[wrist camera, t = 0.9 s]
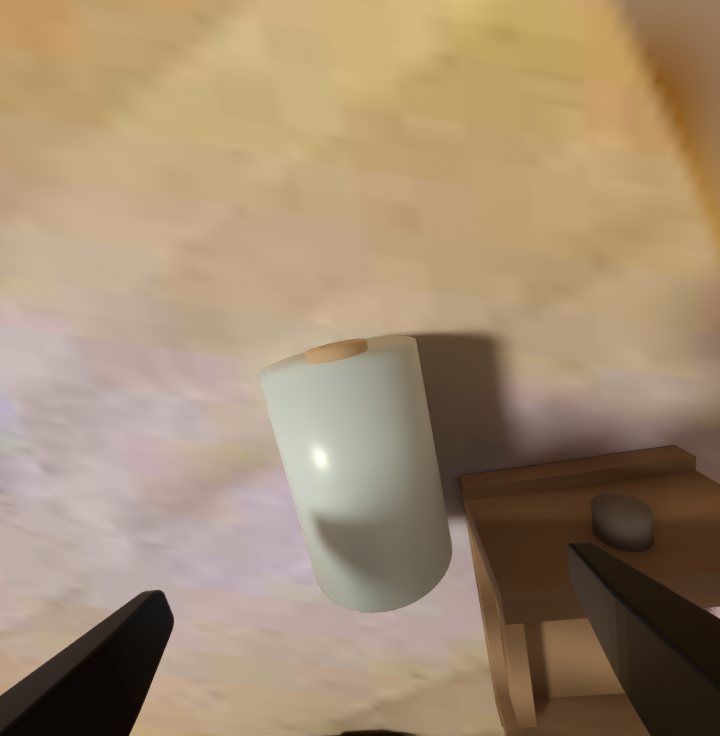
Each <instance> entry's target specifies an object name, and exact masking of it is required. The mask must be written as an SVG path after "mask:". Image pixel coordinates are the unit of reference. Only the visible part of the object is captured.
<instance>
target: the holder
mask: <svg viewBox="0 0 720 736" xmlns="http://www.w3.org/2000/svg"><path fill="white" fill-rule="evenodd" d="M695 469H696V457H695V456H693V455H691V454H690V453H688V452H686V451H684V450H682V449H680V448H679V447H677V446H675V445H673V446H666V447H659V448H652V449H645V450H638V451H631V452H624V453H617V454H610V455H603V456H596V457H589V458H582V459H575V460H567V461H560V462H553V463H546V464H539V465H532V466H525V467H518V468H511V469H504V470H497V471H490V472H483V473H476V474H469V475H462V476H460V483H461V489H462V495H463V501H464V508H465V514H466V520H467V526H468V532H469V539H470V545H471V551H472V557H473V563H474V570H475V576H476V582H477V588H478V594H479V601H480V607H481V613H482V619H483V626H484V632H485V638H486V644H487V650H488V657H489V663H490V669H491V675H492V681H493V688H494V694H495V700H496V705H497V709H498V713H499V717H500V720H501V724H502V727H503V728H504V732H505V736H650V734H649V733H648V731H647V729H646V727H645V726H644V724H643V722H642V721H641V719H640V717H639V716H638V714H637V712H636V711H635V709H634V707H633V706H632V704H631V702H630V701H629V699H628V697H627V695H626V694H625V692H624V690H623V688H622V686H621V685H620V683H619V681H618V679H617V677H616V675H615V673H614V671H613V669H612V667H611V665H610V663H609V661H608V659H607V657H606V655H605V653H604V651H603V649H602V647H601V645H600V643H599V641H598V639H597V637H596V635H595V632H594V630H593V628H592V626H591V624H590V622H589V620H588V618H587V616H586V614H585V612H584V610H583V608H582V606H581V604H580V602H579V600H578V598H577V596H576V594H575V592H574V589H573V587H572V584H571V581H570V576H569V566H568V554H567V546H568V544H569V543H571V542H580V541H590V542H593V543H595V544H596V545H598V546H600V547H601V548H603V549H605V550H606V551H608V552H610V553H611V554H613V555H615V556H616V557H618V558H620V559H621V560H623V561H625V562H626V563H628V564H630V565H631V566H633V567H635V568H636V569H638V570H640V571H641V572H643V573H645V574H646V575H648V576H650V577H651V578H653V579H655V580H656V581H658V582H660V583H661V584H663V585H665V586H666V587H668V588H670V589H671V590H673V591H674V592H676V593H678V594H679V595H681V596H683V597H684V598H686V599H688V600H689V601H691V602H693V603H694V604H696V605H698V606H699V607H701V608H703V609H704V610H705V608H707V607H718V606H720V485H719V484H718V483H716V482H714V481H713V480H711V479H709V478H708V477H706V476H704V475H702V474H701V473H699V472H697V471H696V470H695Z"/></svg>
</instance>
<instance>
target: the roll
mask: <svg viewBox="0 0 720 736" xmlns="http://www.w3.org/2000/svg"><path fill="white" fill-rule="evenodd" d="M258 378H259V381H260V385H261V388H262V392H263V395H264V399H265V402H266V406H267V409H268V413H269V416H270V420H271V423H272V427H273V430H274V434H275V437H276V441H277V444H278V448H279V451H280V455H281V458H282V462H283V465H284V469H285V472H286V476H287V480H288V483H289V487H290V490H291V494H292V497H293V501H294V504H295V508H296V511H297V515H298V518H299V522H300V525H301V529H302V532H303V536H304V539H305V543H306V546H307V550H308V553H309V557H310V560H311V564H312V567H313V571H314V574H315V578H316V580H317V583H318V585H319V587H320V589H321V590H322V592H323V593H324V594H325V595H326V596H327V597H328V598H329V599H330V600H332V601H333V602H334V603H336V604H338V605H340V606H342V607H344V608H347V609H350V610H354V611H359V612H369V613H375V612H386V611H391V610H395V609H398V608H402V607H405V606H407V605H409V604H411V603H414V602H416V601H417V600H419V599H420V598H422V597H424V596H425V595H426V594H428V593H429V592H430V591H431V590H432V589H433V588H434V587H435V586H436V585H437V584H438V583H439V582H440V581H441V579H442V578H443V576H444V575H445V573H446V571H447V569H448V567H449V564H450V561H451V556H452V542H451V536H450V531H449V525H448V519H447V513H446V508H445V502H444V496H443V491H442V485H441V479H440V473H439V468H438V462H437V456H436V451H435V445H434V439H433V433H432V428H431V422H430V416H429V411H428V405H427V399H426V393H425V388H424V382H423V376H422V371H421V365H420V359H419V353H418V348H417V342H416V339H415V338H413V337H409V336H386V337H376V338H369V339H352V340H345V341H340V342H335V343H331V344H327V345H323V346H320V347H316V348H314V349H311V350H309V351H307V352H305V353H302V354H299V355H295V356H292V357H289V358H287V359H284V360H281V361H279V362H276V363H274V364H272V365H270V366H268V367H266V368H264V369H263V370H262V371H260V372H259V374H258Z"/></svg>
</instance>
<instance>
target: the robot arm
mask: <svg viewBox="0 0 720 736" xmlns="http://www.w3.org/2000/svg"><path fill="white" fill-rule="evenodd" d="M567 554H568V566H569V576H570V581H571V584H572V587H573V589H574V592H575V594H576V596H577V598H578V600H579V602H580V604H581V606H582V608H583V610H584V612H585V614H586V616H587V618H588V620H589V622H590V624H591V626H592V628H593V630H594V632H595V635H596V637H597V639H598V641H599V643H600V645H601V647H602V649H603V651H604V653H605V655H606V657H607V659H608V661H609V663H610V665H611V667H612V669H613V671H614V673H615V675H616V677H617V679H618V681H619V683H620V685H621V686H622V688H623V690H624V692H625V694H626V695H627V697H628V699H629V701H630V702H631V704H632V706H633V707H634V709H635V711H636V712H637V714H638V716H639V717H640V719H641V721H642V722H643V724H644V726H645V727H646V729H647V731H648V733H649V734H650V736H720V619H719V618H718V617H716V616H714V615H713V614H711V613H709V612H708V611H706V610H704V609H703V608H701V607H699V606H698V605H696V604H694V603H693V602H691V601H689V600H688V599H686V598H684V597H683V596H681V595H679V594H678V593H676V592H674V591H673V590H671V589H670V588H668V587H666V586H665V585H663V584H661V583H660V582H658V581H656V580H655V579H653V578H651V577H650V576H648V575H646V574H645V573H643V572H641V571H640V570H638V569H636V568H635V567H633V566H631V565H630V564H628V563H626V562H625V561H623V560H621V559H620V558H618V557H616V556H615V555H613V554H611V553H610V552H608V551H606V550H605V549H603V548H601V547H600V546H598V545H596V544H595V543H593V542H590V541H580V542H571V543H569V544H568V546H567ZM173 625H174V617H173V614H172V611H171V609H170V606H169V604H168V601H167V599H166V597H165V594H164V593H163V592H162V591H161V590H152V591H145V592H142V593H140V594H139V595H138V596H136V597H135V598H133V599H132V600H131V601H129V602H128V603H127V604H125V605H124V606H123V607H121V608H120V609H118V610H117V611H116V612H114V613H113V614H112V615H110V616H109V617H107V618H106V619H105V620H103V621H102V622H101V623H99V624H98V625H97V626H95V627H94V628H92V629H91V630H90V631H88V632H87V633H86V634H84V635H83V636H81V637H80V638H79V639H77V640H76V641H75V642H73V643H72V644H71V645H69V646H68V647H66V648H65V649H64V650H62V651H61V652H60V653H58V654H57V655H55V656H54V657H53V658H51V659H50V660H49V661H47V662H46V663H45V664H43V665H42V666H40V667H39V668H38V669H36V670H35V671H34V672H32V673H31V674H29V675H28V676H27V677H25V678H24V679H23V680H21V681H20V682H19V683H17V684H16V685H14V686H13V687H12V688H10V689H9V690H8V691H6V692H5V693H3V694H2V695H1V696H0V736H129V735H130V732H131V730H132V728H133V726H134V724H135V722H136V719H137V717H138V715H139V713H140V710H141V708H142V705H143V703H144V700H145V698H146V695H147V693H148V690H149V688H150V685H151V683H152V680H153V678H154V675H155V673H156V670H157V668H158V665H159V663H160V660H161V658H162V655H163V652H164V650H165V647H166V645H167V642H168V640H169V637H170V635H171V632H172V629H173Z"/></svg>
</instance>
